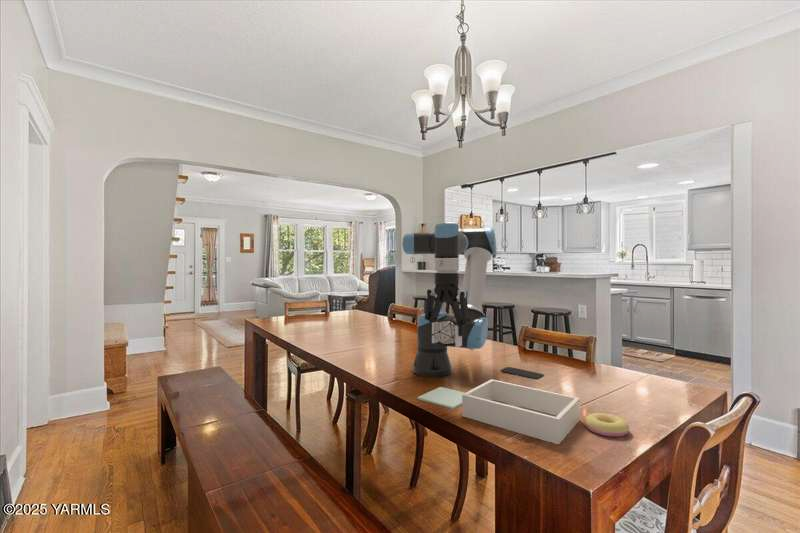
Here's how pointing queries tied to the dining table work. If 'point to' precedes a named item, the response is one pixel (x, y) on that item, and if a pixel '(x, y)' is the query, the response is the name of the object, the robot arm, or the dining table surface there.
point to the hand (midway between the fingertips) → (446, 344)
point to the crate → (519, 419)
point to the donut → (607, 424)
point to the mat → (443, 397)
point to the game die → (445, 332)
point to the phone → (522, 373)
